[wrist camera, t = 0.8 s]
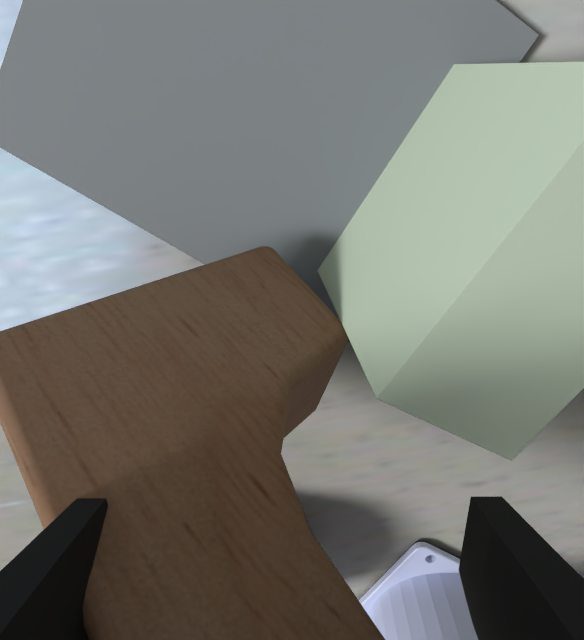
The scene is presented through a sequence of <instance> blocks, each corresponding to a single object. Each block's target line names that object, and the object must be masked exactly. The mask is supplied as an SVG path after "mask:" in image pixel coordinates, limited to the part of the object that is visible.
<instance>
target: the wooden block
mask: <svg viewBox="0 0 584 640" xmlns="http://www.w3.org/2000/svg"><path fill="white" fill-rule="evenodd" d="M348 339H349V338H348V336H347V334H346V331H345V329H344V327H343V325H342V323H341V321H340V320H339V319H338V318H337V317H336V316H335V315H334V314H333V312H332V311H331V310H330V309H329V308H328V307H327V306H326V305H325V304H324V303H323V302H322V301H321V299H320V298H319V297H318V296H317V295H316V294H315V293H314V292H313V291H312V290H311V289H310V288H309V287H308V285H307V284H306V283H305V282H304V281H303V280H302V279H301V278H300V277H299V276H298V275H297V274H296V273H295V271H294V270H293V269H292V268H291V267H290V266H289V265H288V264H287V263H286V262H285V261H284V260H283V259H282V257H281V256H280V255H279V254H278V253H277V252H276V251H275V250H274V249H272V248H270V247H268V246H261V247H258V248H255V249H252V250H249V251H246V252H243V253H239V254H236V255H233V256H230V257H227V258H224V259H221V260H218V261H215V262H212V263H209V264H206V265H203V266H200V267H196V268H193V269H190V270H187V271H184V272H181V273H178V274H175V275H172V276H169V277H166V278H163V279H160V280H157V281H154V282H150V283H147V284H144V285H141V286H138V287H135V288H132V289H129V290H126V291H123V292H120V293H117V294H114V295H111V296H108V297H104V298H101V299H98V300H95V301H92V302H89V303H86V304H83V305H80V306H77V307H74V308H71V309H68V310H65V311H62V312H58V313H55V314H52V315H49V316H46V317H43V318H40V319H37V320H34V321H31V322H28V323H25V324H22V325H19V326H16V327H13V328H9V329H6V330H3V331H0V423H1V425H2V428H3V430H4V433H5V435H6V438H7V440H8V442H9V445H10V447H11V450H12V452H13V455H14V457H15V460H16V462H17V464H18V467H19V469H20V472H21V474H22V477H23V479H24V482H25V484H26V486H27V489H28V491H29V494H30V496H31V499H32V501H33V504H34V506H35V509H36V511H37V513H38V516H39V518H40V521H41V523H42V526H43V528H44V529H45V528H46V527H47V526H48V525H49V524H50V523H51V522H52V521H53V520H55V519H56V518H57V517H58V516H59V515H60V514H61V513H62V512H63V511H64V510H65V509H66V508H67V507H68V506H69V505H70V504H71V503H73V502H74V501H75V500H76V499H77V498H107V503H108V508H107V512H106V516H105V520H104V524H103V528H102V532H101V536H100V540H99V544H98V548H97V551H96V555H95V559H94V563H93V567H92V570H91V573H90V576H89V580H88V584H87V588H86V593H85V598H84V602H83V624H84V629H85V631H86V634H87V636H88V639H89V640H385V638H384V637H383V635H382V634H381V633H380V631H379V630H378V628H377V627H376V625H375V624H374V622H373V621H372V619H371V618H370V617H369V615H368V614H367V612H366V611H365V609H364V608H363V606H362V605H361V603H360V602H359V601H358V599H357V598H356V596H355V595H354V593H353V592H352V590H351V589H350V588H349V586H348V585H347V583H346V582H345V580H344V579H343V577H342V576H341V574H340V573H339V572H338V570H337V569H336V567H335V566H334V564H333V563H332V561H331V560H330V558H329V557H328V556H327V554H326V553H325V551H324V550H323V548H322V547H321V545H320V544H319V542H318V541H317V540H316V538H315V537H314V535H313V534H312V532H311V531H310V528H309V525H308V523H307V520H306V518H305V515H304V513H303V510H302V507H301V505H300V502H299V500H298V497H297V494H296V492H295V489H294V487H293V484H292V481H291V479H290V476H289V474H288V471H287V469H286V466H285V463H284V461H283V458H282V456H281V450H282V444H283V438H284V437H285V436H287V435H288V434H289V433H290V432H291V431H292V430H293V429H294V428H296V427H297V426H298V425H299V424H300V423H301V422H302V421H303V420H305V419H306V418H307V417H308V416H309V415H310V414H311V413H312V412H314V411H315V410H316V408H317V406H318V404H319V402H320V399H321V397H322V395H323V393H324V391H325V389H326V387H327V384H328V382H329V380H330V378H331V376H332V374H333V372H334V369H335V367H336V365H337V363H338V361H339V359H340V357H341V354H342V352H343V350H344V348H345V346H346V344H347V342H348Z"/></svg>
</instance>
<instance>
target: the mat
mask: <svg viewBox="0 0 584 640" xmlns="http://www.w3.org/2000/svg"><path fill="white" fill-rule="evenodd" d="M538 36H539V35H538V34H537V33H536V32H535V31H533V30H532V29H531V28H530V27H529V26H527V25H526V24H525V23H524V22H522V21H521V20H520V19H519V18H517V17H516V16H515V15H514V14H512V13H511V12H510V11H509V10H507V9H506V8H505V7H504V6H502V5H501V4H500V3H499V2H497V1H496V0H23V2H22V5H21V8H20V11H19V15H18V18H17V21H16V24H15V27H14V30H13V33H12V36H11V39H10V42H9V45H8V48H7V51H6V54H5V57H4V60H3V63H2V66H1V69H0V148H2V149H4V150H6V151H7V152H9V153H11V154H13V155H14V156H16V157H18V158H20V159H21V160H23V161H25V162H27V163H28V164H30V165H32V166H34V167H35V168H37V169H39V170H41V171H42V172H44V173H46V174H48V175H49V176H51V177H53V178H55V179H56V180H58V181H60V182H62V183H63V184H65V185H67V186H69V187H70V188H72V189H74V190H76V191H77V192H79V193H81V194H83V195H85V196H86V197H88V198H90V199H92V200H93V201H95V202H97V203H99V204H100V205H102V206H104V207H106V208H107V209H109V210H111V211H113V212H114V213H116V214H118V215H120V216H121V217H123V218H125V219H127V220H128V221H130V222H132V223H134V224H135V225H137V226H139V227H141V228H142V229H144V230H146V231H148V232H149V233H151V234H153V235H155V236H156V237H158V238H160V239H162V240H163V241H165V242H167V243H169V244H170V245H172V246H174V247H176V248H177V249H179V250H181V251H183V252H184V253H186V254H188V255H190V256H191V257H193V258H195V259H197V260H198V261H200V262H202V263H204V264H205V265H206V264H209V263H212V262H215V261H218V260H221V259H224V258H227V257H230V256H233V255H236V254H239V253H243V252H246V251H249V250H252V249H255V248H258V247H261V246H268V247H270V248H272V249H274V250H275V251H276V252H277V253H278V254H279V255H280V256H281V257H282V259H283V260H284V261H285V262H286V263H287V264H288V265H289V266H290V267H291V268H292V269H293V270H294V271H295V273H296V274H297V275H298V276H299V277H300V278H301V279H302V280H303V281H304V282H305V283H306V284H307V285H308V287H309V288H310V289H311V290H312V291H313V292H314V293H315V294H316V295H317V296H318V297H319V298H320V299H321V301H322V302H323V303H324V304H325V305H326V306H327V307H328V308H329V309H330V310H331V311H332V312H333V314H334V315H335V316H336V317H337V318H338V317H339V316H338V314H337V312H336V310H335V307H334V305H333V303H332V301H331V299H330V297H329V294H328V292H327V290H326V288H325V286H324V284H323V281H322V279H321V277H320V275H319V273H318V271H317V270H318V269H319V267H320V266H321V264H322V263H323V261H324V260H325V258H326V257H327V255H328V254H329V252H330V251H331V249H332V248H333V246H334V245H335V243H336V242H337V240H338V239H339V237H340V236H341V234H342V233H343V231H344V230H345V228H346V227H347V225H348V224H349V222H350V221H351V219H352V218H353V216H354V215H355V213H356V212H357V210H358V209H359V207H360V205H361V204H362V202H363V201H364V199H365V198H366V196H367V195H368V193H369V192H370V190H371V189H372V187H373V186H374V184H375V183H376V181H377V180H378V178H379V177H380V175H381V174H382V172H383V171H384V169H385V168H386V166H387V165H388V163H389V162H390V160H391V159H392V157H393V156H394V154H395V153H396V151H397V150H398V148H399V147H400V145H401V144H402V142H403V141H404V139H405V138H406V136H407V135H408V133H409V131H410V130H411V128H412V127H413V125H414V124H415V122H416V121H417V119H418V118H419V116H420V115H421V113H422V112H423V110H424V109H425V107H426V106H427V104H428V103H429V101H430V100H431V98H432V97H433V95H434V94H435V92H436V91H437V89H438V88H439V86H440V85H441V83H442V82H443V80H444V79H445V77H446V76H447V74H448V73H449V71H450V70H451V68H452V67H453V65H454V64H491V63H519V62H520V61H521V60H522V58H523V57H524V55H525V54H526V53H527V51H528V50H529V48H530V47H531V46H532V44H533V43H534V41H535V40H536V38H537V37H538Z"/></svg>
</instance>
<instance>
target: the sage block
mask: <svg viewBox="0 0 584 640" xmlns="http://www.w3.org/2000/svg"><path fill="white" fill-rule="evenodd" d="M317 271H318V273H319V275H320V277H321V279H322V281H323V284H324V286H325V288H326V290H327V292H328V294H329V297H330V299H331V301H332V303H333V305H334V307H335V310H336V312H337V314H338V316H339V318H340V321H341V323H342V325H343V327H344V329H345V331H346V334H347V336H348V338H349V340H350V342H351V344H352V347H353V349H354V351H355V353H356V355H357V357H358V360H359V362H360V364H361V366H362V368H363V370H364V373H365V375H366V377H367V379H368V381H369V384H370V386H371V388H372V390H373V392H374V394H375V397H376V399H378V400H381V401H383V402H385V403H387V404H389V405H391V406H394V407H396V408H398V409H400V410H402V411H405V412H407V413H409V414H411V415H413V416H415V417H418V418H420V419H422V420H424V421H426V422H428V423H431V424H433V425H435V426H437V427H439V428H441V429H444V430H446V431H448V432H450V433H452V434H454V435H457V436H459V437H461V438H463V439H465V440H468V441H470V442H472V443H474V444H476V445H478V446H481V447H483V448H485V449H487V450H489V451H491V452H494V453H496V454H498V455H500V456H502V457H504V458H507V459H509V460H512V459H513V458H514V457H515V456H516V455H517V454H518V453H519V452H520V451H521V450H522V449H523V448H524V447H525V446H526V445H527V444H528V443H529V442H530V441H531V440H532V439H533V438H534V437H535V436H536V435H537V434H538V433H539V432H540V431H541V430H542V429H543V428H544V427H545V426H546V425H547V424H548V423H549V422H550V421H551V420H552V419H553V418H554V417H555V416H556V415H557V414H558V413H559V412H560V411H561V410H562V409H563V408H564V407H565V406H566V405H567V404H568V403H569V402H570V401H571V400H572V399H573V398H574V397H575V396H576V395H577V394H578V393H579V392H580V391H581V390H582V389H583V388H584V62H542V63H491V64H454V65H453V67H452V68H451V70H450V71H449V73H448V74H447V76H446V77H445V79H444V80H443V82H442V83H441V85H440V86H439V88H438V89H437V91H436V92H435V94H434V95H433V97H432V98H431V100H430V101H429V103H428V104H427V106H426V107H425V109H424V110H423V112H422V113H421V115H420V116H419V118H418V119H417V121H416V122H415V124H414V125H413V127H412V128H411V130H410V131H409V133H408V135H407V136H406V138H405V139H404V141H403V142H402V144H401V145H400V147H399V148H398V150H397V151H396V153H395V154H394V156H393V157H392V159H391V160H390V162H389V163H388V165H387V166H386V168H385V169H384V171H383V172H382V174H381V175H380V177H379V178H378V180H377V181H376V183H375V184H374V186H373V187H372V189H371V190H370V192H369V193H368V195H367V196H366V198H365V199H364V201H363V202H362V204H361V205H360V207H359V209H358V210H357V212H356V213H355V215H354V216H353V218H352V219H351V221H350V222H349V224H348V225H347V227H346V228H345V230H344V231H343V233H342V234H341V236H340V237H339V239H338V240H337V242H336V243H335V245H334V246H333V248H332V249H331V251H330V252H329V254H328V255H327V257H326V258H325V260H324V261H323V263H322V264H321V266H320V267H319V269H318V270H317Z"/></svg>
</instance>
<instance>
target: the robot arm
mask: <svg viewBox="0 0 584 640" xmlns="http://www.w3.org/2000/svg"><path fill="white" fill-rule="evenodd" d="M107 508H108V503H107V498H77V499H76V500H75V501H74V502H73V503H71V504H70V505H69V506H68V507H67V508H66V509H65V510H64V511H63V512H62V513H61V514H60V515H59V516H58V517H57V518H56V519H55V520H53V521H52V522H51V523H50V524H49V525H48V526H47V527H46V528H45V529H44V530H43V531H42V532H41V533H40V534H39V535H38V536H37V537H36V538H35V539H34V540H33V541H32V542H31V543H30V544H29V545H27V546H26V547H25V548H24V549H23V550H22V551H21V552H20V553H19V554H18V555H17V556H16V557H15V558H14V559H13V560H12V561H11V562H10V563H9V564H7V565H6V566H5V567H4V568H3V569H2V570H1V571H0V640H89V639H88V636H87V634H86V631H85V629H84V624H83V602H84V598H85V593H86V588H87V584H88V580H89V576H90V573H91V570H92V567H93V563H94V559H95V555H96V551H97V548H98V544H99V540H100V536H101V532H102V528H103V524H104V520H105V516H106V512H107ZM429 555H431V556H429ZM358 601H359V602H360V603H361V605H362V606H363V608H364V609H365V611H366V612H367V614H368V615H369V617H370V618H371V619H372V621H373V622H374V624H375V625H376V627H377V628H378V630H379V631H380V633H381V634H382V635H383V637H384V638H385V640H584V578H582V577H581V576H580V575H579V574H578V573H577V572H576V571H575V570H574V569H573V568H572V567H571V566H570V565H569V564H568V563H567V562H566V561H565V560H564V559H563V558H562V557H561V556H560V555H559V554H558V553H557V552H556V551H555V550H554V549H553V548H552V547H551V546H550V545H549V544H548V543H547V542H546V541H545V540H544V539H543V538H542V537H541V536H540V535H539V534H538V533H537V532H536V531H535V530H534V529H533V528H532V527H531V526H530V525H529V524H528V523H527V522H526V521H525V520H524V519H523V518H522V517H521V516H520V515H519V514H518V513H517V512H516V511H515V510H514V509H513V508H512V507H511V506H510V505H509V504H508V503H507V502H506V501H505V500H504V499H503V498H502V497H471V500H470V506H469V512H468V517H467V523H466V529H465V535H464V541H463V547H462V552H461V558H460V559H459V558H457V557H455V556H453V555H451V554H449V553H447V552H445V551H443V550H440V549H438V548H436V547H434V546H432V545H430V544H428V543H426V542H417V543H415V544H414V545H412V546H411V547H410V549H409V550H408V551H407V552H406V553H405V554H404V555H403V556H402V557H401V558H400V559H399V560H398V561H397V562H396V563H395V564H394V565H393V566H392V567H391V568H390V569H389V570H388V571H387V572H386V573H385V574H384V575H383V576H382V577H381V578H380V579H379V580H378V581H377V582H376V583H375V584H374V585H373V586H372V587H371V588H370V589H369V590H368V591H367V592H366V593H365V594H364V595H363V596H362V597H361V598H360V599H359V600H358Z"/></svg>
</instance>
